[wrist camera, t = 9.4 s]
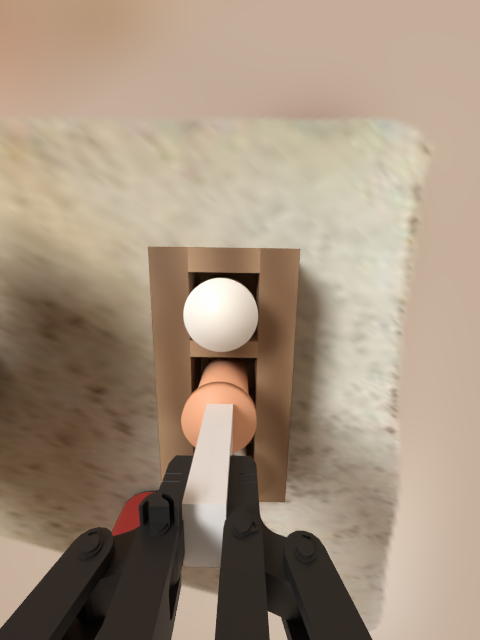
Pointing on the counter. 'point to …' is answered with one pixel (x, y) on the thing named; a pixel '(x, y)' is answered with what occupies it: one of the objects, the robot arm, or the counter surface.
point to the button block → (257, 353)
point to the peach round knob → (222, 400)
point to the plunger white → (220, 314)
